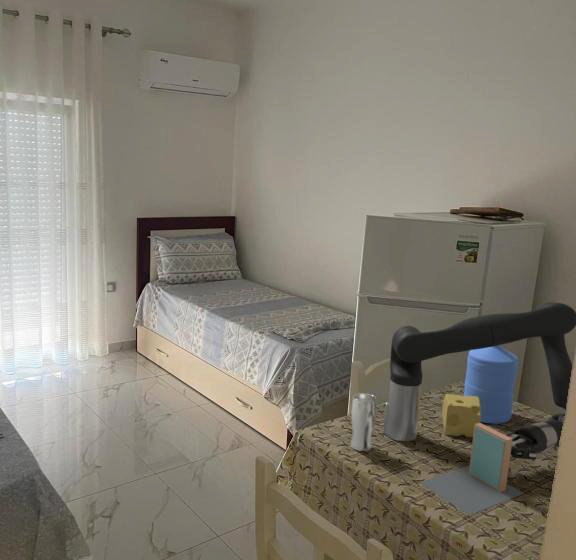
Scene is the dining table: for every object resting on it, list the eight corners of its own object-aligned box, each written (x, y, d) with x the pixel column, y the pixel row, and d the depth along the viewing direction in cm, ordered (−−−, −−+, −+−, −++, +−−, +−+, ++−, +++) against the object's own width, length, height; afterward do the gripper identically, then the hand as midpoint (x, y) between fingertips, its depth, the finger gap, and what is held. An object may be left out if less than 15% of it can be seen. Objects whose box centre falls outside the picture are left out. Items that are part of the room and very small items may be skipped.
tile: (468, 473, 151) (474, 424, 148) (473, 471, 152) (479, 422, 149) (499, 492, 143) (506, 440, 140) (505, 490, 144) (512, 438, 141)
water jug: (492, 429, 180) (503, 343, 175) (451, 410, 193) (460, 330, 187) (520, 418, 189) (531, 337, 184) (480, 401, 202) (489, 325, 196)
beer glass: (343, 446, 164) (347, 396, 161) (358, 438, 169) (361, 390, 166) (363, 455, 159) (367, 404, 157) (377, 447, 164) (382, 398, 162)
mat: (419, 484, 146) (419, 482, 146) (472, 466, 156) (472, 464, 156) (468, 517, 133) (469, 515, 132) (523, 495, 143) (523, 493, 143)
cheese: (479, 440, 172) (483, 409, 170) (442, 435, 174) (446, 404, 172) (475, 425, 182) (479, 396, 180) (440, 421, 184) (443, 391, 182)
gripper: (516, 416, 161) (474, 428, 151) (559, 435, 150) (517, 449, 141) (513, 441, 162) (471, 454, 153) (555, 462, 151) (514, 477, 142)
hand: (493, 452), depth 147 cm, fingers closed
